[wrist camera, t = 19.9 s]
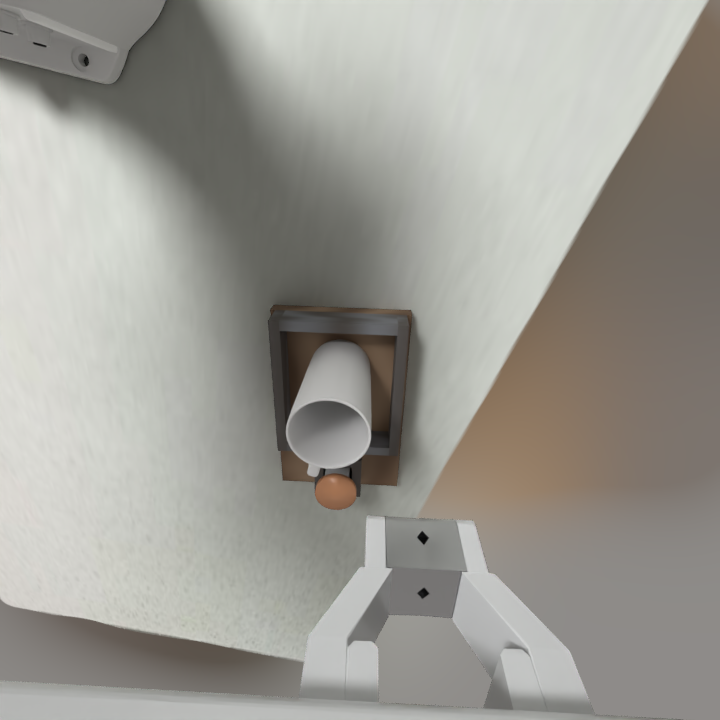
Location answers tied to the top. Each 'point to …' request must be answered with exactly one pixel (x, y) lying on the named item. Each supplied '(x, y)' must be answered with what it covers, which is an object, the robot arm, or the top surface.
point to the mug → (332, 408)
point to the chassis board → (387, 368)
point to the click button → (336, 489)
